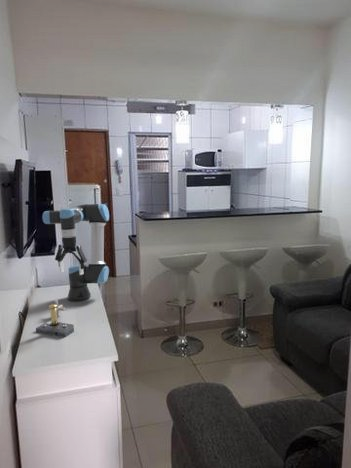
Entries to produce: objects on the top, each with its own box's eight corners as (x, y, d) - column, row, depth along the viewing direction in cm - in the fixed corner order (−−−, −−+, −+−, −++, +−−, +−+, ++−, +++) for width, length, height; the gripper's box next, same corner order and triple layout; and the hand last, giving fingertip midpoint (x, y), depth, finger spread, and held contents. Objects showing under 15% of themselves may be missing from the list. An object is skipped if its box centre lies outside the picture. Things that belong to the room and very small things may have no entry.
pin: (54, 329, 196) (52, 303, 194) (60, 330, 194) (58, 304, 192) (49, 332, 192) (47, 306, 190) (55, 333, 191) (53, 306, 188)
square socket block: (45, 326, 200) (44, 318, 200) (74, 331, 193) (73, 323, 192) (36, 331, 194) (35, 323, 193) (65, 337, 186) (64, 328, 185)
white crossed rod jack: (61, 320, 208) (59, 304, 206) (45, 319, 210) (44, 303, 208) (69, 314, 218) (68, 298, 216) (54, 313, 220) (53, 297, 218)
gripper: (46, 236, 199) (49, 273, 203) (82, 238, 189) (85, 277, 193) (55, 234, 206) (59, 270, 210) (91, 236, 196) (94, 273, 200)
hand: (71, 273), depth 201 cm, fingers open, 13 cm apart
